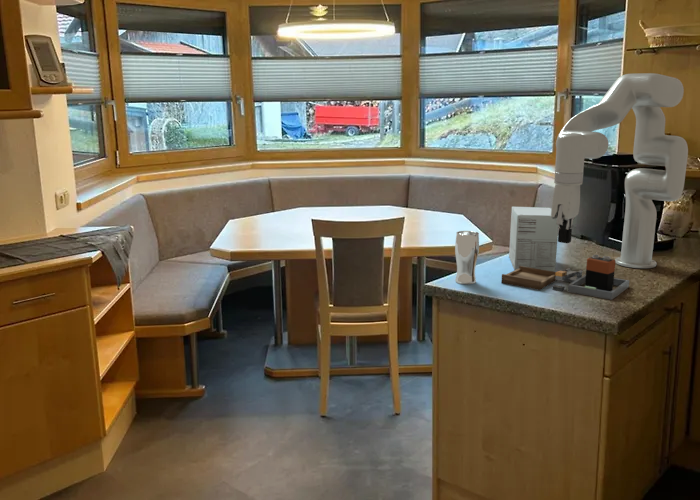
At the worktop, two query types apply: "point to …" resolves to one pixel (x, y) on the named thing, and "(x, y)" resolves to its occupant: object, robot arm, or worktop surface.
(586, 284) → the battery
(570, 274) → the release key
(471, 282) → the beer glass
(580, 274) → the key mount
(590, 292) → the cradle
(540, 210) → the supplement box
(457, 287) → the worktop surface
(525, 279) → the wooden tray
